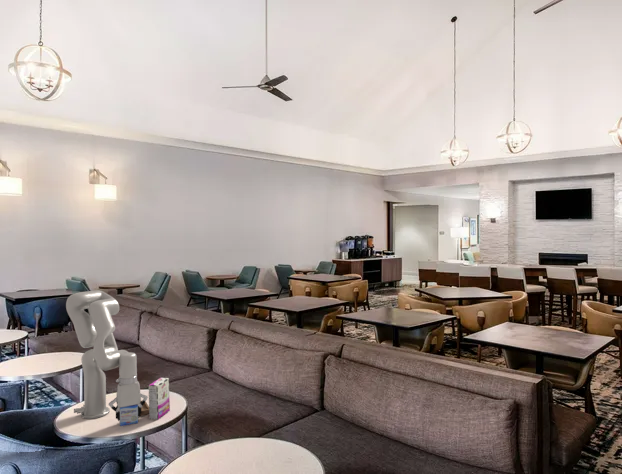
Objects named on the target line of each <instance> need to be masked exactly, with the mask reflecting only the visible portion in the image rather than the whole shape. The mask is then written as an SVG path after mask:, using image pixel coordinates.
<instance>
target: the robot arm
mask: <svg viewBox="0 0 622 474" xmlns="http://www.w3.org/2000/svg"><path fill="white" fill-rule="evenodd" d="M65 308H66V312H67V315H68V316H69V318H70V320H71V322H72V324H73V327H74V330H75V331H74V332H75V334H76V338H77V340H78V342H79V345H80V347H82V348H84V349H86V348H87V349H88V348H93V349H89V350H87V351H85V352H83V354H82V356H81V359H80V360H81V365H82V370H83V385H84V387H83V391H84V392H83V394H84V395H83V397H84V399H83V400H84V404H82V405H83V406H81V407H77V408H73V413H74V414H77V415H78V414H80V416H81V418H82V419H87V420H90V419H97V418H102V417H105V416H106V415H108V414H109V413H110V408H111V409H112V410H113V411H114V412H115V419H116V420H117V421H118V422H119V420H120V412H119V410H120V407H127V406H132V405H137V404H138V416H140V414H141V407H142V406H143V405H144V403H145V401H146V402H147V400H148V399H149V396H148V395H145V394H144V393H141V387H140V381H138V373H137V372H138V366H137V364H138V362H137V359H138V358H137V354H136V353H135V352H129V351H127V350H126V349H119V348H118V345H117V342H116V339H115V336H114V332H115V331H116V326H115V322H114V319H113V318H112V316H115V315H117V314H118V313H119V311H120V304H119V302H118V301H117V299H116V298H114V297H113V296H112V295H111V294H108V293H107V292H105V291H103V290H99V289H97V290H96V289H95V290H90V291H89V290H88V291H80V292H76V293H72V294H70V295H69V296H68V297H67V299H66V302H65ZM86 309H87V310H88V311H87V312H86V311H85V310H86ZM116 368H119V369H118V371H119V372H118V373H119V374H118V375H119V377H118V378H117V379H115V382H116V383H118V384H117V388H116V397H115V398H114V399H112V400H111V401H110V402H108V406H109V407H110V408H109V407H108V406H107V388H106V387H107V386H106V385H107V382H106V381H107V380H106V378H107V377H106V376H107V375H106V373H105V372H104V371H109V370H113V369H116ZM140 402H141V403H140ZM115 403H116V406H115V405H114V404H115Z"/></svg>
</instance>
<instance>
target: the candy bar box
mask: <svg viewBox="0 0 622 474" xmlns="http://www.w3.org/2000/svg"><path fill="white" fill-rule="evenodd" d="M170 403H171V402H170V378H169V377H159V378H158V379H157V380H154V381H153V382H152V383H150V384H149V385H148V406H149V415H148V417H149V418H148V419H149V420H157V421H159V420H160V419H161V418H163V417H164V416H165V415H166V414H167V413H169V412H170V410H171V407H170V406H171V405H170Z"/></svg>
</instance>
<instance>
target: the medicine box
mask: <svg viewBox="0 0 622 474" xmlns="http://www.w3.org/2000/svg"><path fill="white" fill-rule="evenodd" d="M119 412H120V420H119V421H118V423H119V426H120V427H124V426H129V425H134V424H138V423H139V417H138V404H137V405H132V406H127V407H120V410H119Z"/></svg>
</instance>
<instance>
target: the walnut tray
mask: <svg viewBox="0 0 622 474" xmlns="http://www.w3.org/2000/svg"><path fill="white" fill-rule="evenodd" d="M140 403H141V402H140ZM145 416H149V403H147V400H146V401H145V403H144V405H143V406H142V407H141V414H140V416H138V418H140V417H145Z"/></svg>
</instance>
